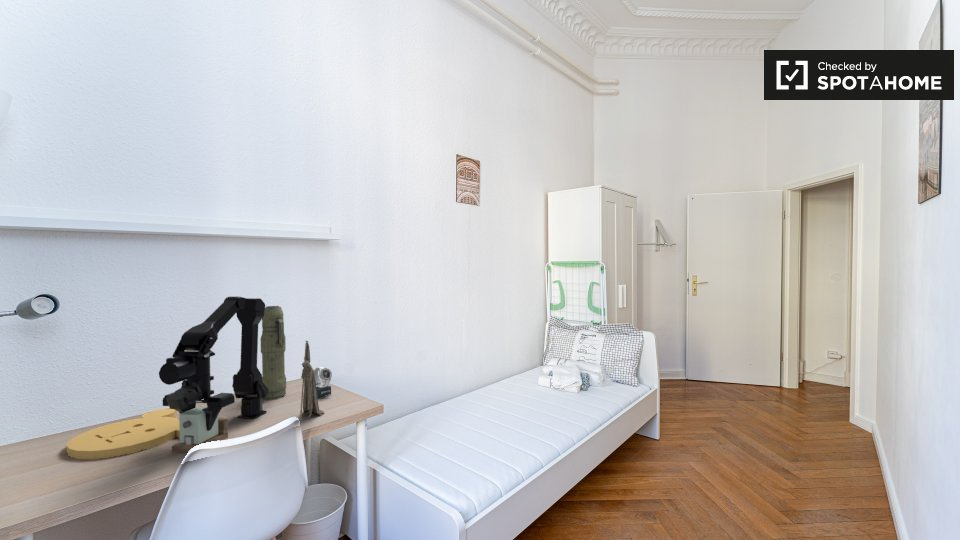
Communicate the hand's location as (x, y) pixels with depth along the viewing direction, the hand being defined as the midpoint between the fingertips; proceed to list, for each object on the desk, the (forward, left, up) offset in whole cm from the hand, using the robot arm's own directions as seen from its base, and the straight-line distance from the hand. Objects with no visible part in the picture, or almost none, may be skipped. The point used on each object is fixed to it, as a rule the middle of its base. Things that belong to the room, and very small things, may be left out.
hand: (199, 429), depth 121 cm
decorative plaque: (-2, -23, -5) cm, 24 cm away
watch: (-48, +10, -4) cm, 49 cm away
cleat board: (0, 0, -4) cm, 4 cm away
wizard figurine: (-28, +17, -4) cm, 33 cm away
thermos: (-45, -9, -4) cm, 46 cm away
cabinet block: (0, 0, -2) cm, 2 cm away
